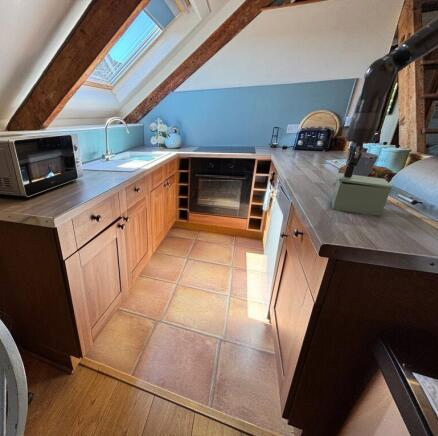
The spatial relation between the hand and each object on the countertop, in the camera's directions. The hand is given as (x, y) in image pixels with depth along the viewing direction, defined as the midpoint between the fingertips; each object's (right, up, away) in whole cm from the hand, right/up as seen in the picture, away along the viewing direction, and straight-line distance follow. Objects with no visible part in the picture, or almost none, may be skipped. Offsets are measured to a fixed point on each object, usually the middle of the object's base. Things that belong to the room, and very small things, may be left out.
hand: (347, 176), depth 90 cm
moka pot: (+15, -5, +17) cm, 24 cm away
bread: (+32, +1, +31) cm, 45 cm away
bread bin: (+4, -11, +2) cm, 12 cm away
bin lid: (+4, -2, -2) cm, 4 cm away
